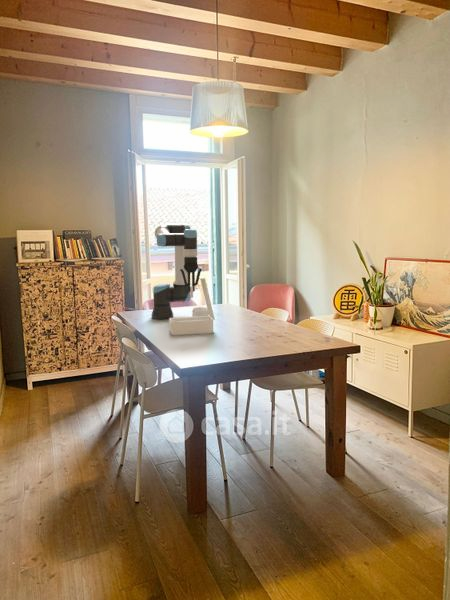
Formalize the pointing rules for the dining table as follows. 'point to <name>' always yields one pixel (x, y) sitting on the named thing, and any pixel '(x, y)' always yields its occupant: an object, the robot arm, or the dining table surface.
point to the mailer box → (190, 325)
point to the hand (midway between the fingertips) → (191, 297)
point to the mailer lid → (207, 297)
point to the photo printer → (200, 312)
